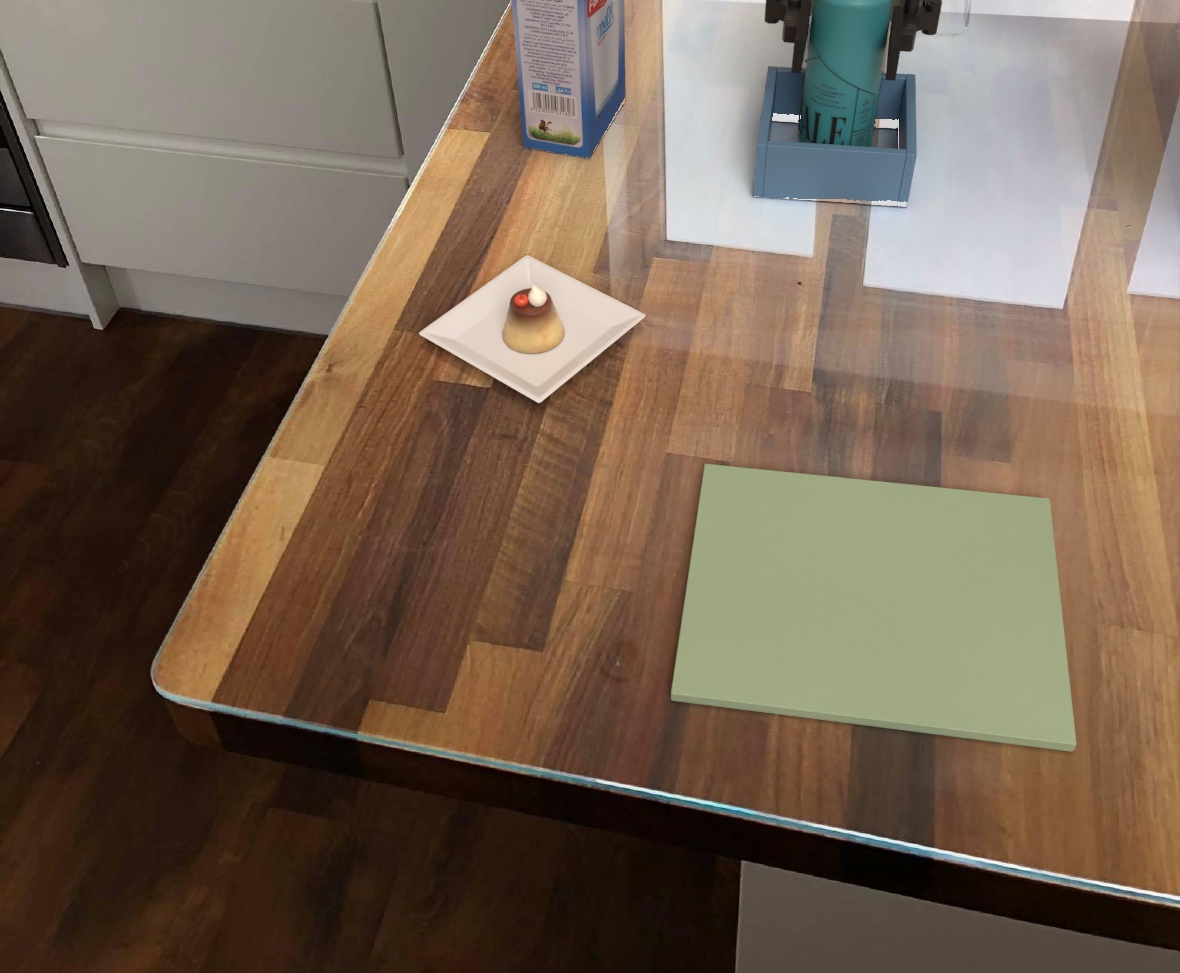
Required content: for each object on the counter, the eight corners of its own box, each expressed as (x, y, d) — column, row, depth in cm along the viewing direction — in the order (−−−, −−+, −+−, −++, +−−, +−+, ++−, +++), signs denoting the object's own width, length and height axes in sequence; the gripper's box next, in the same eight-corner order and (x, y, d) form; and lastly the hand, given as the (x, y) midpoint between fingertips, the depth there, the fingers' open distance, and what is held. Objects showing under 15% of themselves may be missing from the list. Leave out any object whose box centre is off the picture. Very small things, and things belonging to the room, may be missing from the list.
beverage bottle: (871, 142, 107) (908, -92, 92) (869, 185, 103) (907, -53, 88) (796, 136, 108) (821, -95, 93) (791, 179, 104) (816, -57, 89)
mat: (1047, 506, 78) (1050, 497, 78) (1073, 752, 66) (1077, 744, 66) (704, 471, 81) (704, 463, 81) (670, 700, 69) (670, 693, 69)
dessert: (419, 344, 91) (410, 293, 87) (527, 265, 97) (523, 215, 93) (540, 414, 85) (535, 363, 82) (646, 326, 91) (647, 275, 88)
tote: (906, 126, 109) (915, 74, 105) (906, 208, 100) (916, 155, 97) (763, 117, 110) (768, 65, 107) (752, 197, 102) (756, 144, 98)
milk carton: (562, 92, 114) (551, -132, 100) (625, 102, 113) (623, -124, 98) (523, 148, 108) (504, -81, 93) (589, 160, 107) (580, -72, 92)
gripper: (755, -120, 107) (720, 4, 92) (983, -108, 104) (986, 22, 89) (749, -35, 113) (716, 95, 98) (966, -22, 110) (966, 114, 94)
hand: (845, 60), depth 93 cm, fingers closed on beverage bottle, 6 cm apart
